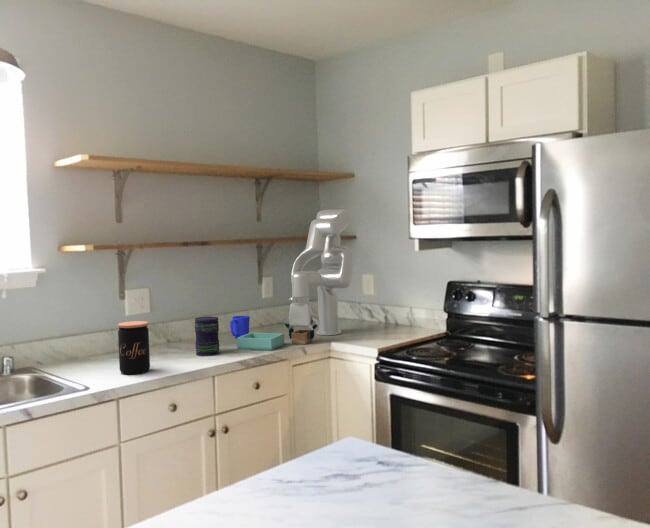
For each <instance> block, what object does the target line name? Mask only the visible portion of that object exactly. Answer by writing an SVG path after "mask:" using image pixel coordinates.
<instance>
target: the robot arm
mask: <svg viewBox="0 0 650 528" xmlns="http://www.w3.org/2000/svg"><path fill="white" fill-rule="evenodd" d="M350 223H351V213H350V212H349V210H347V209H343V208H341V209H339V208H338V209H324V210H320V211H318V212H317V214H316V218H315V219H313V220H312V221H311V223H310V226H309V230H308V233H307V234H308V236H307V241H306V245H305V248H304V250H303V251H302V252H301V253H299V255H298V256H297V258H296V259H295V260H294V262H293V265H292V269H291V273H290V282H291V297H289V302H290V301H291V303H290V305H289V315H288V316H287V317H285V318H284V319H282V321H283V324H284V326H285V327H286V329H287V330H288V336H289V339H291V340H292V338H291V333H293V332H295V330H294V327H308V329H310V339H312V340H314V338H315V335H317V336H335V335H337V336H338V335H341V334H342V330H341V329H339V306H338V305H339V303H338V302H339V301H338V298H339V297H338V295H337V292H336V290H335V289H348V287H350V285H351V282H352V273H353V268H354V252H353V249H351V248H350V247H349V246H341V239H342V238H341V235H340V234H341V233H342V232H343V231H344V230H346V228H347V227H348V226H349V225H350ZM320 256H321V257H320ZM318 257H320V261H321V264H322V265H323V266H327V267H328V268H327V267H326V268H325V267H323V268H320V269H318V270H317V271H315V270H303V269H304V267H305V265H306V264H307V263H308V262H310V261H312V260H313V259H315V258H318ZM330 267H331V268H330ZM334 267H337V268H334ZM338 267H340V268H338ZM314 288H315V289H316V291H317V313H318V318H316V317H315V316H314V315H313V310H312V308H313V307H312V304H311V302H310V289H314ZM314 322H315V323H314ZM317 327H318V329H317ZM316 329H317V330H316ZM315 330H316V331H315Z"/></svg>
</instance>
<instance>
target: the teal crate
mask: <svg viewBox="0 0 650 528" xmlns="http://www.w3.org/2000/svg"><path fill="white" fill-rule="evenodd" d="M285 345H286V344H285V333H283V332H282V333H279V332H278V333H277V332H249V334H246V335H243V336H241V337H238V338H236V347H237V350H244V351H263V352H264V351H265V352H266V351H267V352H272V351H275V350H277V349H279V348H280V347H282V346H285Z"/></svg>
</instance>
